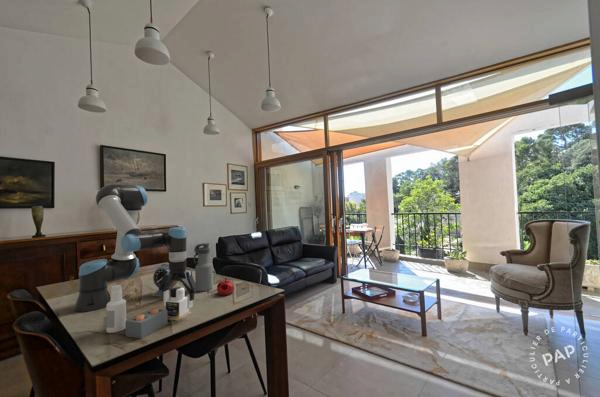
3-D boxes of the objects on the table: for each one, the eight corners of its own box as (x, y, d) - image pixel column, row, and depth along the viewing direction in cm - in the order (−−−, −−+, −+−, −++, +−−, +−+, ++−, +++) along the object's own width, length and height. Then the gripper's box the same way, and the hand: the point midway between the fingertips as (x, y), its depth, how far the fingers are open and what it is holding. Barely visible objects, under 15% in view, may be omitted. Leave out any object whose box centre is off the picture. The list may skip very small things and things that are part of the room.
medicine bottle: (165, 316, 120) (165, 290, 120) (176, 310, 127) (176, 285, 127) (179, 318, 118) (178, 291, 118) (189, 311, 125) (189, 286, 125)
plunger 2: (148, 323, 111) (148, 310, 111) (154, 320, 114) (154, 307, 114) (154, 324, 110) (154, 311, 110) (160, 321, 113) (160, 308, 113)
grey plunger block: (125, 336, 103) (125, 320, 104) (152, 322, 116) (152, 308, 116) (141, 338, 101) (141, 322, 101) (167, 323, 114) (167, 309, 114)
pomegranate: (226, 290, 159) (226, 274, 160) (237, 292, 154) (237, 276, 154) (212, 294, 151) (212, 278, 152) (223, 297, 146) (223, 280, 146)
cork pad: (161, 318, 119) (161, 317, 119) (175, 311, 128) (175, 310, 128) (177, 321, 116) (177, 319, 116) (191, 313, 125) (191, 311, 125)
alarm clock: (149, 295, 152) (149, 265, 153) (162, 290, 162) (161, 261, 162) (171, 297, 149) (170, 265, 149) (182, 291, 158) (182, 262, 159)
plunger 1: (133, 331, 104) (133, 317, 104) (140, 327, 107) (140, 314, 107) (139, 332, 103) (139, 317, 104) (146, 328, 106) (146, 314, 106)
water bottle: (191, 291, 158) (191, 244, 159) (200, 286, 167) (199, 242, 168) (207, 292, 156) (206, 244, 157) (215, 287, 166) (214, 242, 167)
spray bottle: (112, 326, 113) (113, 283, 113) (129, 325, 113) (129, 283, 114) (102, 333, 106) (102, 288, 106) (120, 332, 106) (120, 287, 107)
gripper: (150, 261, 123) (150, 306, 122) (194, 263, 116) (195, 311, 115) (162, 257, 130) (163, 301, 130) (205, 259, 123) (205, 305, 122)
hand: (178, 306), depth 122 cm, fingers open, 13 cm apart
